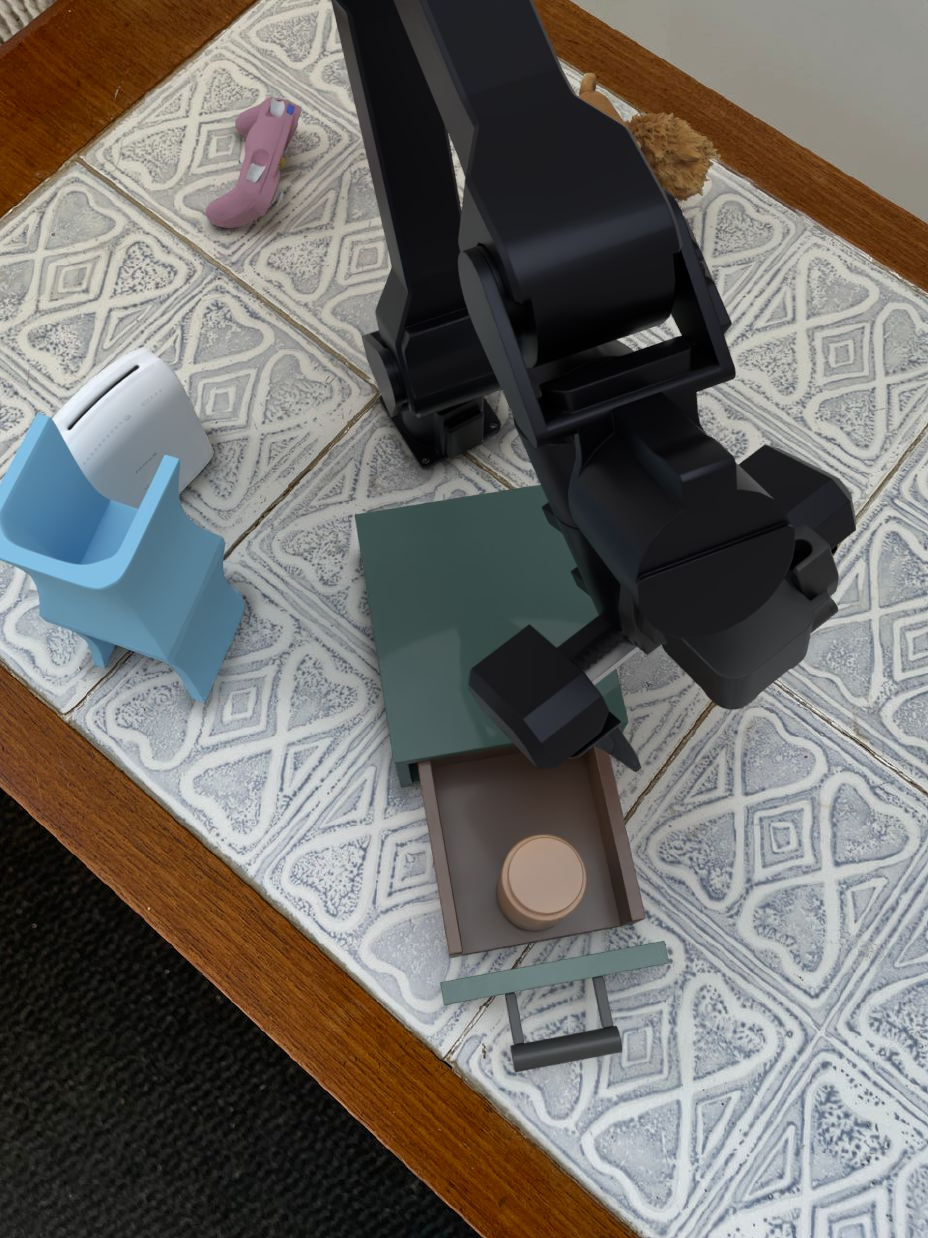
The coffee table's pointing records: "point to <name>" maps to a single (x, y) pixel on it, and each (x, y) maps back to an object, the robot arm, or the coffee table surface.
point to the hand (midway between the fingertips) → (703, 709)
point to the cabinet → (462, 612)
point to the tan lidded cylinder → (541, 882)
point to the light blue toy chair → (118, 562)
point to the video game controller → (258, 163)
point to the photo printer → (133, 427)
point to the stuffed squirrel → (663, 144)
